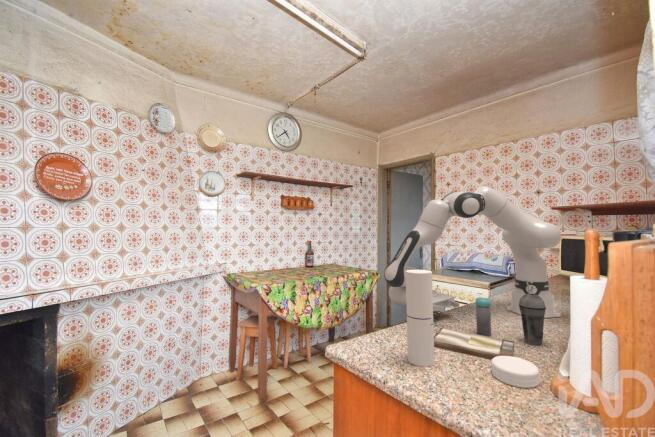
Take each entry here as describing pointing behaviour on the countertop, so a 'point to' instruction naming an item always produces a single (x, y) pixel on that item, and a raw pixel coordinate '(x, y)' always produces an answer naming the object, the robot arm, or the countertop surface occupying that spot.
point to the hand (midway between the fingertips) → (451, 307)
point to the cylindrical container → (420, 317)
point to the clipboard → (473, 344)
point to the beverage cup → (532, 317)
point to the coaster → (515, 371)
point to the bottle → (483, 316)
